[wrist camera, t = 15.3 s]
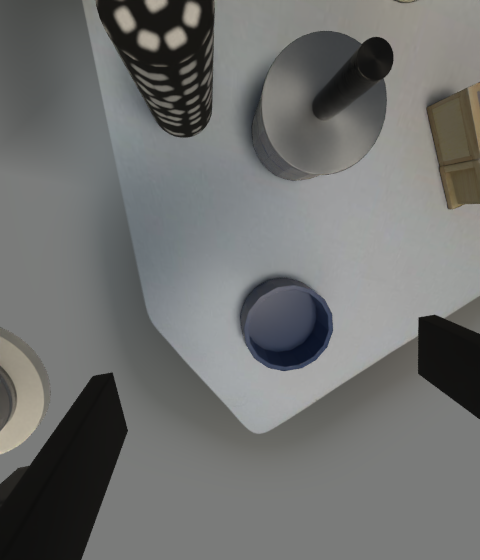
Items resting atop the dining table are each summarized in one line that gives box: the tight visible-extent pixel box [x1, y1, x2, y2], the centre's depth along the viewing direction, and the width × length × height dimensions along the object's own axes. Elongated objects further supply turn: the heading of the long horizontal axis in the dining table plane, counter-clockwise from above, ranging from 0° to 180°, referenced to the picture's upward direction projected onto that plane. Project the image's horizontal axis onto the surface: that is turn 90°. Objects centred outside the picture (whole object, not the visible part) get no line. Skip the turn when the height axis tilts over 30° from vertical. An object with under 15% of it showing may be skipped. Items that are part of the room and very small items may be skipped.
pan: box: [240, 278, 333, 371], centre depth 46 cm, size 13×13×5 cm
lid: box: [261, 31, 393, 175], centre depth 28 cm, size 14×14×11 cm
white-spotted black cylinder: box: [96, 0, 215, 137], centre depth 30 cm, size 8×8×20 cm
